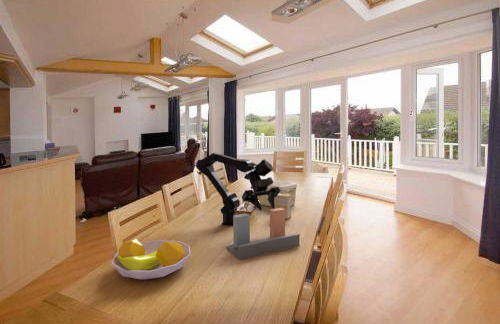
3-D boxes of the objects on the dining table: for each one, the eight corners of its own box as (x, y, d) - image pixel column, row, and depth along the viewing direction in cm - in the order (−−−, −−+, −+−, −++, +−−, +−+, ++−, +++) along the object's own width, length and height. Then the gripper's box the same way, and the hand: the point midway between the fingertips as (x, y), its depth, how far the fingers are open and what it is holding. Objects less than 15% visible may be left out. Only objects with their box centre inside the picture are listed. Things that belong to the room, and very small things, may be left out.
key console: (226, 247, 123) (226, 236, 123) (282, 236, 136) (282, 225, 136) (239, 259, 112) (239, 247, 111) (299, 245, 125) (299, 234, 124)
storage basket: (253, 204, 195) (253, 182, 193) (268, 199, 207) (268, 178, 206) (283, 210, 179) (283, 186, 178) (297, 205, 191) (297, 182, 190)
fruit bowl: (162, 248, 124) (161, 222, 122) (206, 266, 107) (205, 236, 105) (93, 274, 102) (90, 242, 101) (134, 302, 85) (132, 265, 84)
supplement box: (291, 217, 165) (291, 194, 163) (287, 219, 161) (287, 196, 159) (278, 215, 169) (278, 192, 168) (274, 217, 165) (274, 194, 164)
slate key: (233, 245, 122) (232, 215, 121) (246, 242, 125) (245, 213, 124) (236, 248, 119) (236, 217, 118) (249, 245, 122) (249, 215, 121)
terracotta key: (269, 237, 130) (269, 209, 129) (280, 235, 133) (280, 207, 132) (273, 240, 127) (273, 211, 126) (285, 237, 130) (285, 209, 129)
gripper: (244, 173, 135) (256, 202, 126) (278, 170, 143) (291, 197, 135) (237, 187, 143) (247, 215, 134) (269, 183, 151) (281, 209, 143)
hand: (267, 209), depth 136 cm, fingers open, 7 cm apart
